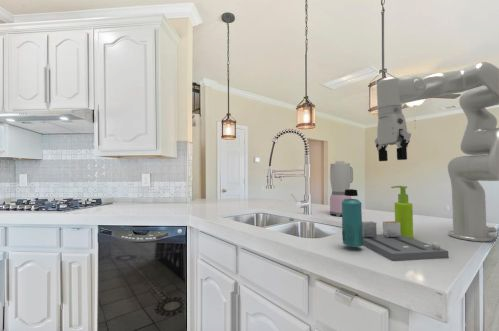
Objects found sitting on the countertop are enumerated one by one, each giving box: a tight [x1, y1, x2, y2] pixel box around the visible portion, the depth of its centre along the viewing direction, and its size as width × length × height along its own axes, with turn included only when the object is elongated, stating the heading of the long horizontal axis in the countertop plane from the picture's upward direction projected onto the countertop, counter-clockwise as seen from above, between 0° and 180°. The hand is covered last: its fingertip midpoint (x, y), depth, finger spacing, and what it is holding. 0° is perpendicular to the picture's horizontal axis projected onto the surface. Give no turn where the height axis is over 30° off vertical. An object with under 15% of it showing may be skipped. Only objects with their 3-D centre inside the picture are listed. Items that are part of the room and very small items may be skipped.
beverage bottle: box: [341, 188, 363, 248], centre depth 80 cm, size 6×7×20 cm
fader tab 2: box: [382, 220, 401, 237], centre depth 85 cm, size 5×2×5 cm, turn 96°
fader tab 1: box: [362, 220, 378, 237], centre depth 86 cm, size 5×2×5 cm, turn 96°
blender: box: [329, 160, 354, 218], centre depth 141 cm, size 16×12×32 cm
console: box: [362, 233, 449, 262], centre depth 79 cm, size 18×20×4 cm
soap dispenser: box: [390, 185, 414, 239], centre depth 94 cm, size 6×7×20 cm
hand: (392, 160), depth 84 cm, fingers open, 9 cm apart
